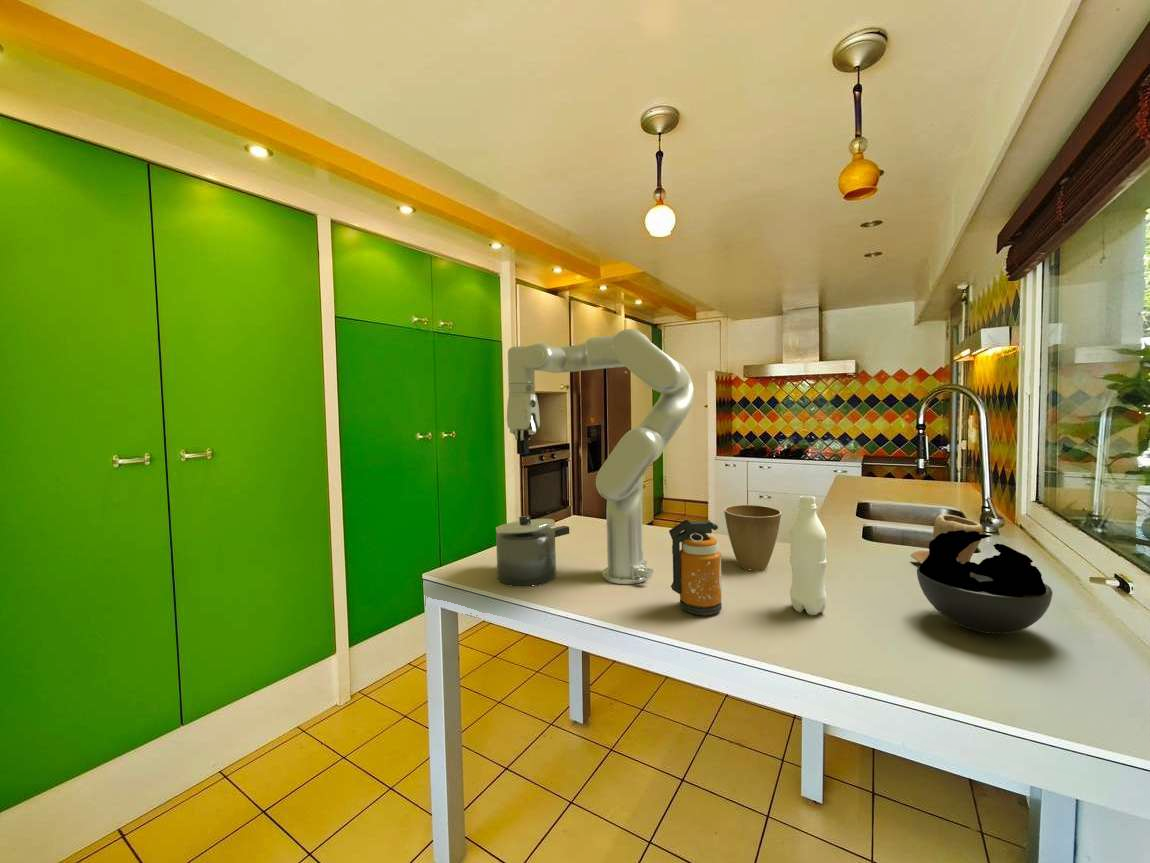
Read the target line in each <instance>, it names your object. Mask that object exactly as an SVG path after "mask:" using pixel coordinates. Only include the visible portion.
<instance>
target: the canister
mask: <svg viewBox="0 0 1150 863" xmlns="http://www.w3.org/2000/svg"><path fill="white" fill-rule="evenodd" d="M718 529H719V526H718V525H717V524H716V523H713V522H712V521H710V520H706V519H705V520H702V521H701V520H699V521H698V520H697V521H695V520H694V521H691V520H690V521H689V520H688V519H685V520H682V521H681V522H680V523H679V524H677V525H675V526H673V527H672V528H671V529H669V530H668V533H669V535H670V537H671V540H672V545H671V554H672V580H673V581H672V583H671V585H670V587H671V590H672V591H674V592H675V593H677V594H679V607H680V608H682V609H683V610H685V611H686V612H688V613H691V614H694V615H698V614H699V615H700V616H707V615H712V614H713V615H714V614H717V613H719V612H720V611H721V610H722V606H723V605H722V553H721V552H720V551H719V542H718V541H717V538H715V537H714V536H712V535H708V534H712V533H713V531H717V530H718ZM680 543H681V544H680ZM680 545H681V547H680Z"/></svg>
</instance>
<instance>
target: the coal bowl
mask: <svg viewBox="0 0 1150 863" xmlns="http://www.w3.org/2000/svg"><path fill="white" fill-rule="evenodd" d="M991 537H992V535H991V534H986V533H983V534H979V532H977V531H970V532H966V531H964V530H959V531H948V532H947V533H946V534H945V533H941V534H939V535H938V536H936V537H935V539H934V538H933V539H931V541H929V543H928V544H929V545H928V551H929V555H928V557H927V558H926V559H925V560H924V561H923V563H922V564H921V563H920V565H919V566H918V567H917V568H916V576H917V581H918V584H919V586H920V589H921V591H922V593H923V595H924V596H925V597H926V599H927V601H928V602H929V604H931V605H932V607H934V608H935V610H936V611H938V612H939V613H940V615H942V616H944V617H945V618H947V619H948V620H950V621H952V622H953V623H955V624H957V625H959V626H961V627H963V628H966V629H969V630H972V631H976V632H980V633H984V634H985V633H987V634H1009V633H1015V632H1018V631H1022V630H1024V629H1026V628H1029V627H1030V626H1032V625H1034V624H1035V623H1036V622H1038V621H1039V620H1040V619H1042V617H1044V615H1045V613H1046V612H1047V611H1048V609H1049V607H1050V606H1051V605H1050V604H1051V602H1052V598H1053V590H1052V588H1051V587H1050V586H1049V585H1048V584H1046V583H1044V580H1043V577H1042V573H1041V572H1040V570H1039V569H1038V567H1037V566H1035V565H1033V564H1032V563H1033V562H1034V560H1033V559H1032V558H1030V557H1029V556H1028V555H1027V554H1024V553H1022V552H1019V551H1018V550H1016V549H1014V548H1012V547H1010V546H1008V545H1005V544H1002V543H997V542H996V544H993V547H994V549H995V550H996V551H997V552H998V553H999V554H998V555H993V556H991V557H986V558H984V559H982V560H981V562H979V563H976V562H973V561H970V562H965V563H961V562H958V561H957V560H956V558H957V557H958V556H959V553H960V552H962V551H963V550H964V549H965V548H967V547H968V546H969V545H970V544H972V543H973V542H976V541H980V540H983V539H986V538H991ZM980 542H981V541H980Z"/></svg>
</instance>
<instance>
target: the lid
mask: <svg viewBox="0 0 1150 863" xmlns="http://www.w3.org/2000/svg"><path fill="white" fill-rule="evenodd" d="M518 520H519V521H513V522H508V523H503V524H500V525H498V526H496V527H495V532H496V534H497V533H498V534H519V533H527V532H534V531H539V530H544V529H547V528H552V527H553V528H554V526H555V525H556V524H555V519H553V518H534V519H531V516H530V515H523V516H519V517H518Z"/></svg>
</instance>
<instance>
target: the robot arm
mask: <svg viewBox="0 0 1150 863" xmlns="http://www.w3.org/2000/svg"><path fill="white" fill-rule="evenodd" d="M612 368H627V370H629V371H630V372H631V373H632V374H633V375H635V376H636V377H638V379H640V380H641V381H642V382H643V383H644V384H646V385H647V386H648V387H650V389H652V390H654V391H656V392H658V393H660V396H659V398H658V399H657V401H656V402H655V404H654V405H653V406H652V408H651V409H650V410H649V412H648V414H647V415H646V416H645V418H644V419H643V420H642V422H641V423H640V424H639V425H638V427H636V428H632V429H631V430H629V431H627V432H626V433H625V434H624V435H623V436H622V437H621V438H620V440H618V442H617V444H616V445H615V447H614V448H613V449H612V451H610V452H611V453H610V454H609V455H608V456H607V459H606V460H604V462H603V464H602V465H601V467H600V468H599V470H598V472H597V474H596V476H595V487H596V490H597V491H598V492H597V493H599V495H600V496H601V497H602V498H604V499H605V500H606V548H607V549H606V553H607V555H606V556H607V566H606V567H605V568H604V569H603V570H602V571H601V577H602V578H603V579H604V580H605V581H607V582H609V583H613V584H617V585H634V584H639V583H643V582H645V581H647V580H651V579H652V576H653V574H654V571H655V570H654V568H651V567H647V561H646V560H644V551H643V550H644V548H643V546H644V544H643V543H644V541H643V492H644V491H643V490H644V476H643V475H644V474H645V473H646V471H648V468H649V467H650V466H651V465H652V463H654V462H655V461H657V459H659V458H660V456H661V455H662V453H663V452H664V450H665V449H666V447H667V445H668V444H669V443H670V442H671V440H672V438H673V437H674V435H676V433H677V431H678V429H679V428H680V426H681V425H682V423H683V422H685V419H686V417H687V416H688V414H689V413H690V410H691V408H692V406H693V402H694V398H695V390H694V389H695V388H694V384H693V380H692V378H691V375H690V374H689V372H688V371H687V369H686V368H685V366H683V364H681V363H680V362H678V361H676V360H674V358H672V357H670V356H669V355H668V354H666V352H664V351H663V350H662V349H660V348H659V347H658V346H657V345H655V344H654V343H652V342H651V340H650V339H649V337H647V335H645V334H644V333H642V332H641V331H639V330H637V329H635V328H626V329H622V330H620V331H619V332H618V333H617V334H613V335H605V336H603V335H602V336H593V337H590V338H588V339H587V340H586V341H585V342H584V343H581V344H578V345H571V346H570V345H569V346H558V347H557V346H553V345H550V344H547V343H543V342H542V343H535V344H531V345H527V346H525V345H524V346H522V345H520V346H519V345H518V346H516V345H515V346H511V347H509V349H508V350H507V373H508V374H507V375H508V379H507V380H508V382H507V383H508V398H507V406H506V407H507V408H506V423H507V427H508V428H509V433H510V434H513V435H514V439H515V440H516V454H517V455H528V454H530V440H531V436H532V435H534V434H536V433H537V430H539V429H540V426H541V419H540V407H539V401H538V396H537V394H536V382H535V380H536V379H535V378H536V377H535V375H536V374H535V371H539V372H546V373H551V374H553V373H554V374H560V373H573V372H582V371H592V370H602V369H603V370H604V369H612Z"/></svg>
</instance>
